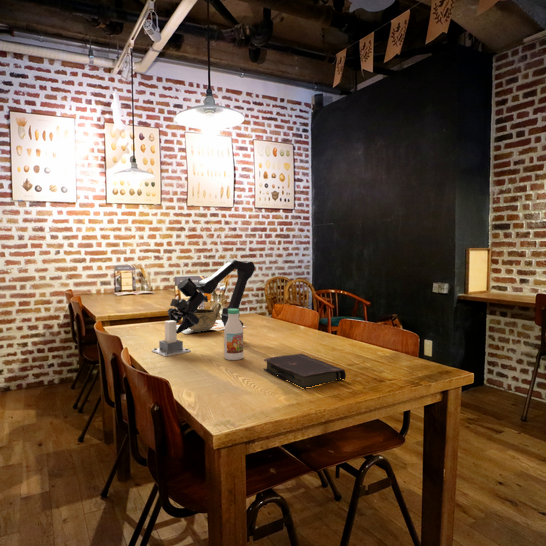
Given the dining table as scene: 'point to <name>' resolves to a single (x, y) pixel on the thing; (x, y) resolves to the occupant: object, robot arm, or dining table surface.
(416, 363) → the dining table surface
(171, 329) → the rail post
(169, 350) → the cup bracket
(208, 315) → the ceramic bowl
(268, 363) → the diary
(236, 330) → the milk bottle
